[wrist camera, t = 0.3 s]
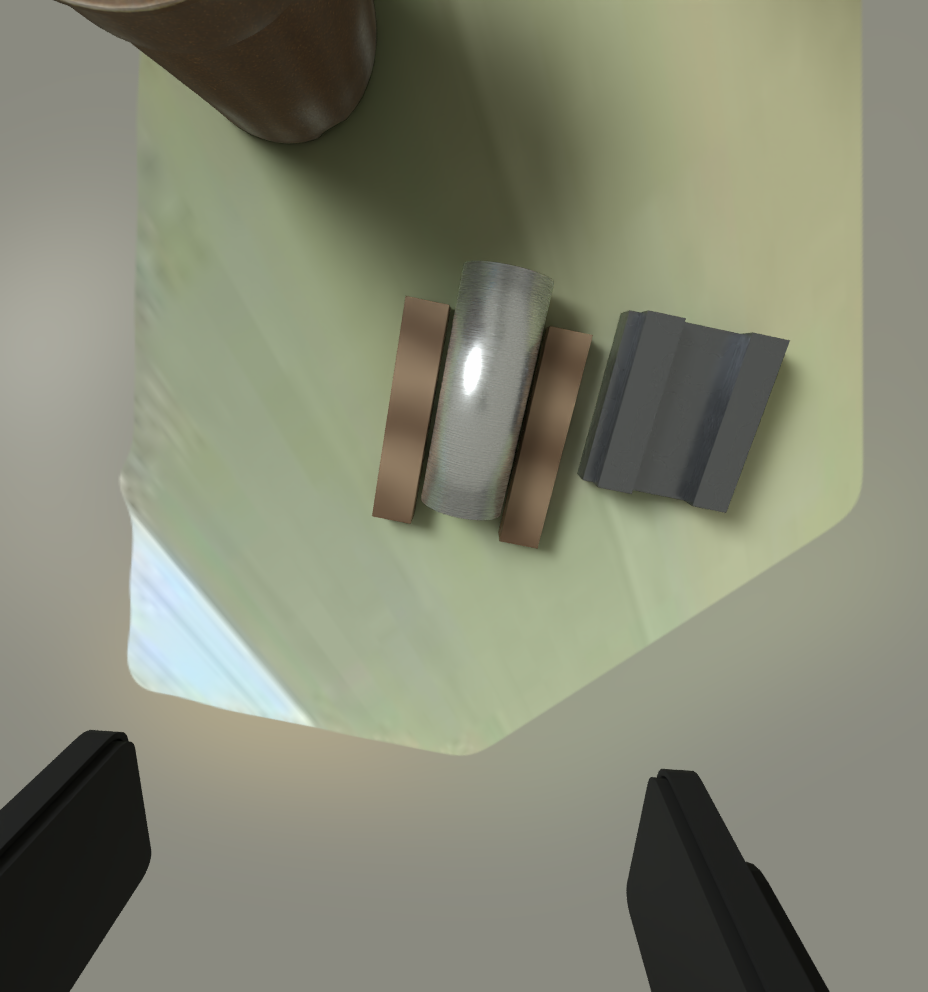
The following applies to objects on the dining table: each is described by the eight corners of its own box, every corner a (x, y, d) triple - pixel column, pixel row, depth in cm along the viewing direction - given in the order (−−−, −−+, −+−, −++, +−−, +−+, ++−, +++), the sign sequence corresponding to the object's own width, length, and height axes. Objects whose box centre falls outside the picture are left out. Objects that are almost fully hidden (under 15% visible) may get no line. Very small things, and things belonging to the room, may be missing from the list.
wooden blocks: (409, 299, 34) (405, 295, 32) (586, 336, 34) (592, 335, 32) (377, 508, 38) (371, 516, 36) (534, 539, 39) (537, 548, 37)
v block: (620, 313, 34) (636, 308, 31) (768, 344, 34) (800, 342, 31) (577, 473, 37) (587, 484, 34) (712, 501, 38) (736, 514, 34)
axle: (464, 273, 34) (461, 254, 28) (547, 290, 34) (561, 275, 28) (425, 486, 38) (416, 509, 32) (498, 501, 38) (502, 526, 32)
